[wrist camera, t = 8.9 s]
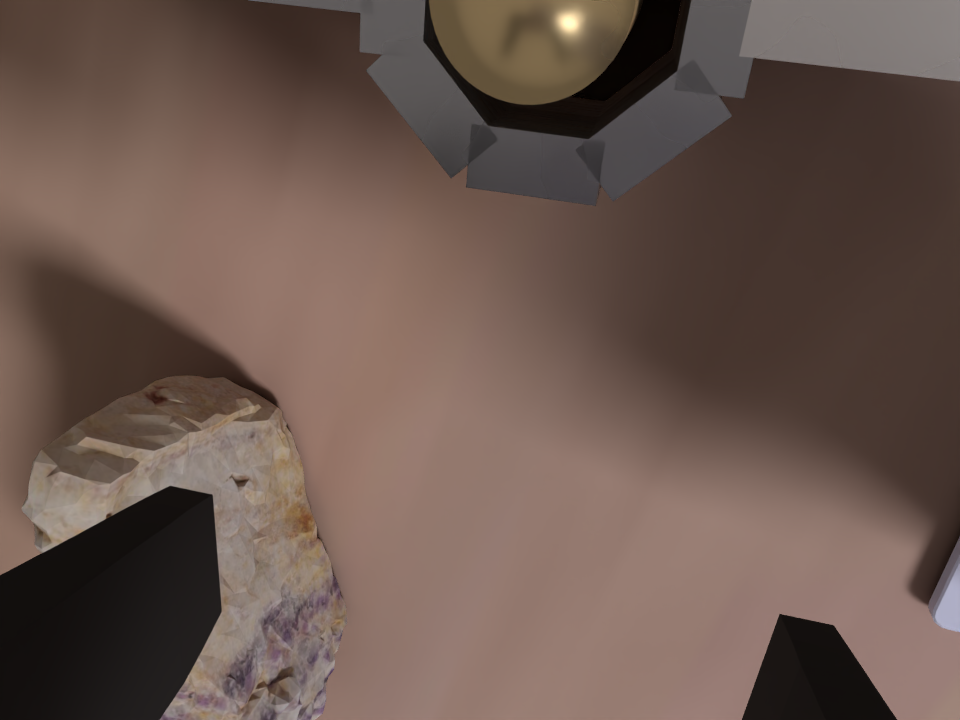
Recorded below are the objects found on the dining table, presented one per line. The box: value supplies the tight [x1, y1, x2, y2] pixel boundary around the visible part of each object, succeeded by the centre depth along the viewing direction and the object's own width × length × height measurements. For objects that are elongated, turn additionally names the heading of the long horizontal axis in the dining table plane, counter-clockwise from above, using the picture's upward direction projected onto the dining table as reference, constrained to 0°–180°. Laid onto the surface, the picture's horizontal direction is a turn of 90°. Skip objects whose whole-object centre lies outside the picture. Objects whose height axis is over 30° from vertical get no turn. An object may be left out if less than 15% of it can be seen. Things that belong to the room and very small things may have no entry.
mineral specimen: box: [22, 375, 347, 720], centre depth 21 cm, size 13×7×6 cm, turn 11°
